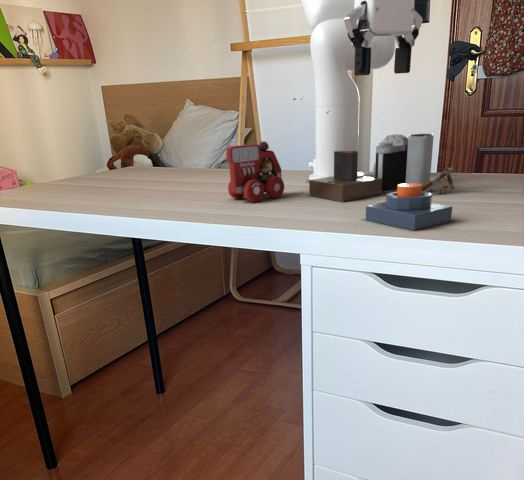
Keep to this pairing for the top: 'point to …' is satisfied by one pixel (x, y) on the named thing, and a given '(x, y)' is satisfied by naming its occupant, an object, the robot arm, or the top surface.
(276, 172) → the toy fire truck
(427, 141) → the grey hollow tube
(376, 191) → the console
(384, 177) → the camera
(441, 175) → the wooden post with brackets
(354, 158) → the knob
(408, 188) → the button
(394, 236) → the top surface
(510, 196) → the top surface
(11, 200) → the top surface
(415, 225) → the button box
